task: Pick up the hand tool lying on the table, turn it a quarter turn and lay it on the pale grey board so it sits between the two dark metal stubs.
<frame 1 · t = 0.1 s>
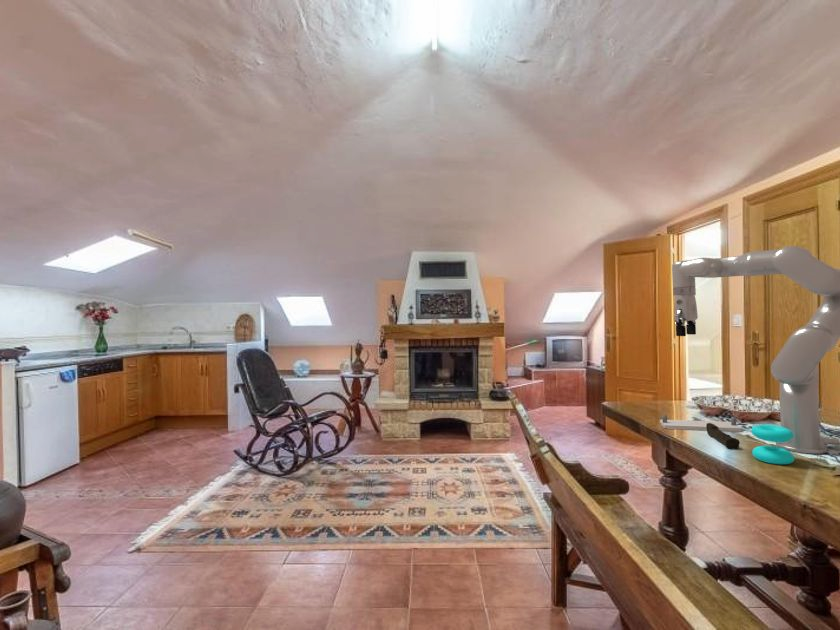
hand: (686, 335, 163), 37 cm above the table, tool pointing down, fingers open, 9 cm apart
donuts: (773, 460, 128), on the table
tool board: (698, 427, 164), on the table
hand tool: (718, 441, 148), on the table
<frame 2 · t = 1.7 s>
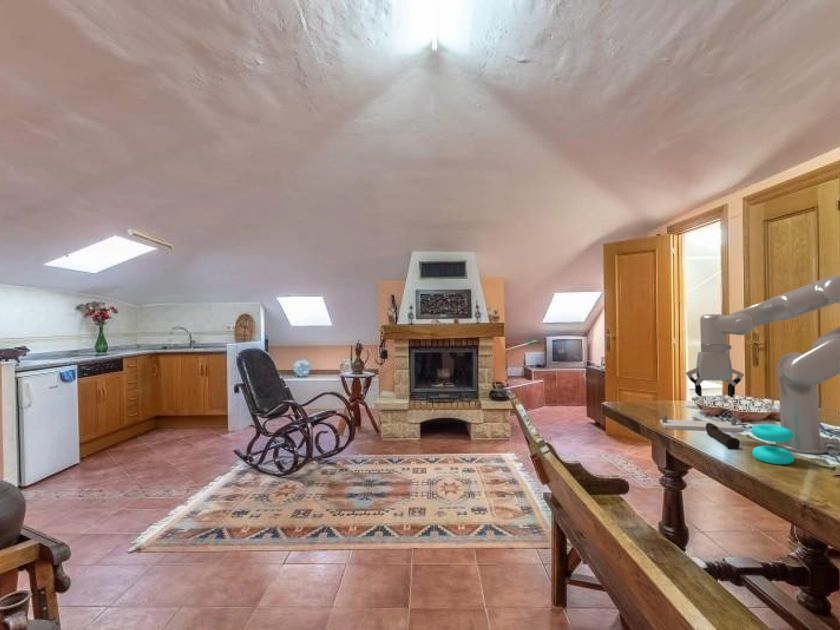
hand: (714, 396, 148), 16 cm above the table, tool pointing down, fingers open, 9 cm apart
nothing on the table moved.
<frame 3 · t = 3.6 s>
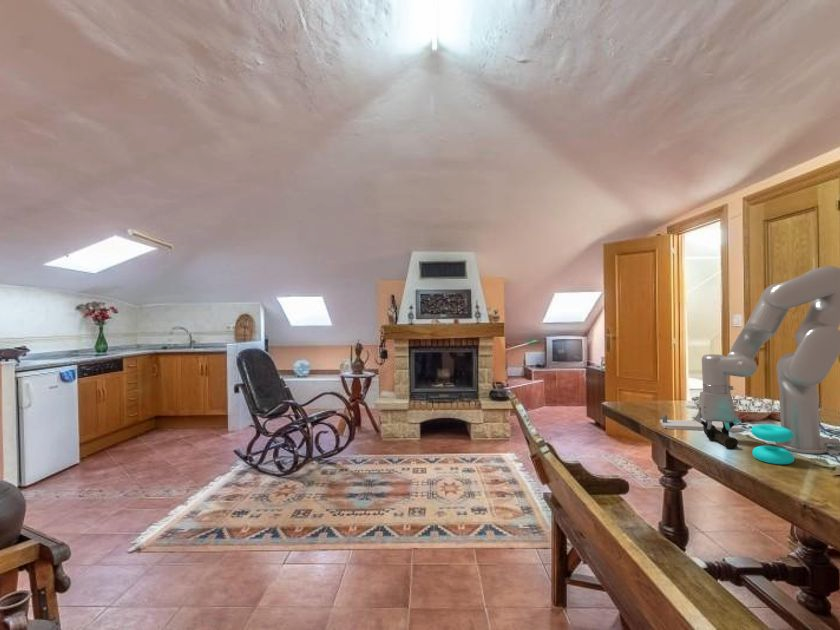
hand: (717, 439, 148), 0 cm above the table, tool pointing down, fingers closed on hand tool, 3 cm apart
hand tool: (716, 441, 148), on the table, touching gripper
everything else where it was.
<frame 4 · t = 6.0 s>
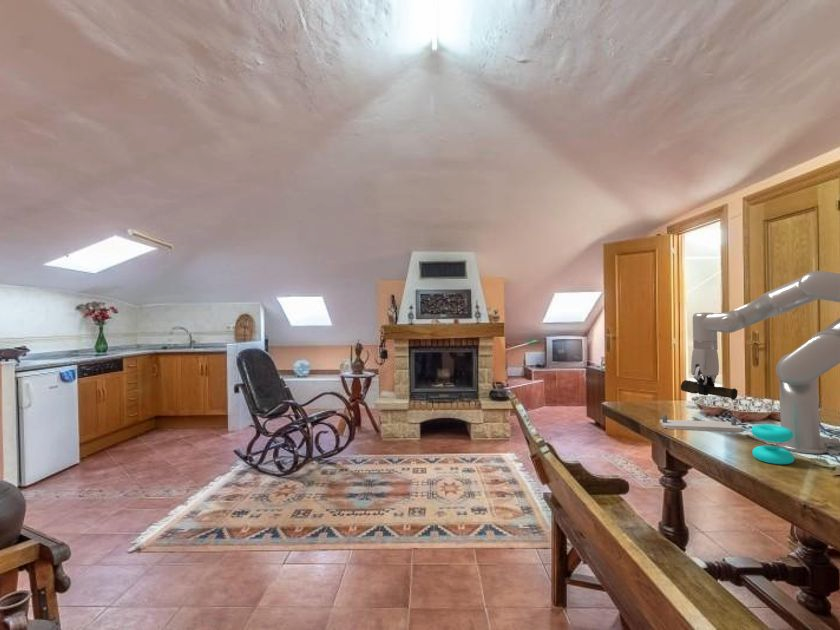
hand: (706, 393, 155), 15 cm above the table, tool pointing down, fingers closed on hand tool, 3 cm apart
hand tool: (706, 395, 154), point 15 cm above the table, touching gripper
everything else where it was.
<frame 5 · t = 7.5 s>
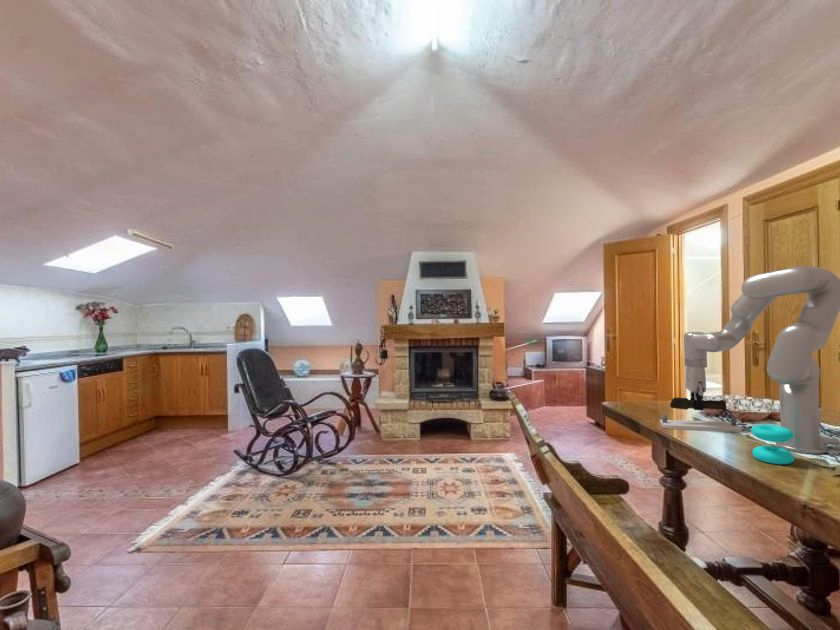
hand: (697, 408, 165), 8 cm above the table, tool pointing down, fingers closed on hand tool, 3 cm apart
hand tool: (698, 410, 164), point 7 cm above the table, touching gripper
everything else where it was.
when the fingers open (3 cm above the table, at t = 8.6 s): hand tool drops 1 cm, resting on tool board.
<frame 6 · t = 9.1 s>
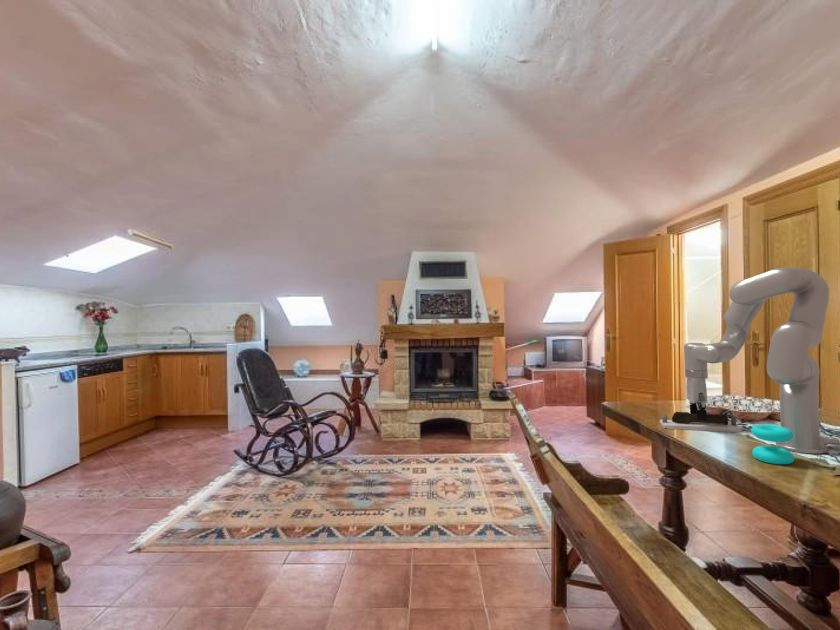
hand: (698, 417, 164), 4 cm above the table, tool pointing down, fingers open, 8 cm apart
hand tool: (700, 424, 164), point 1 cm above the table, touching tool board
everything else where it was.
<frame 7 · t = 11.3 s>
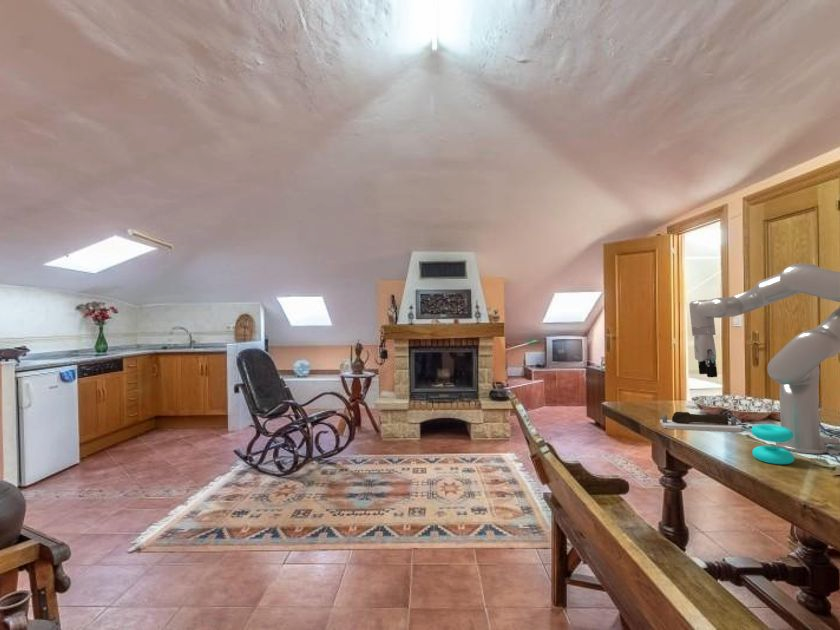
hand: (708, 375, 160), 21 cm above the table, tool pointing down, fingers open, 9 cm apart
nothing on the table moved.
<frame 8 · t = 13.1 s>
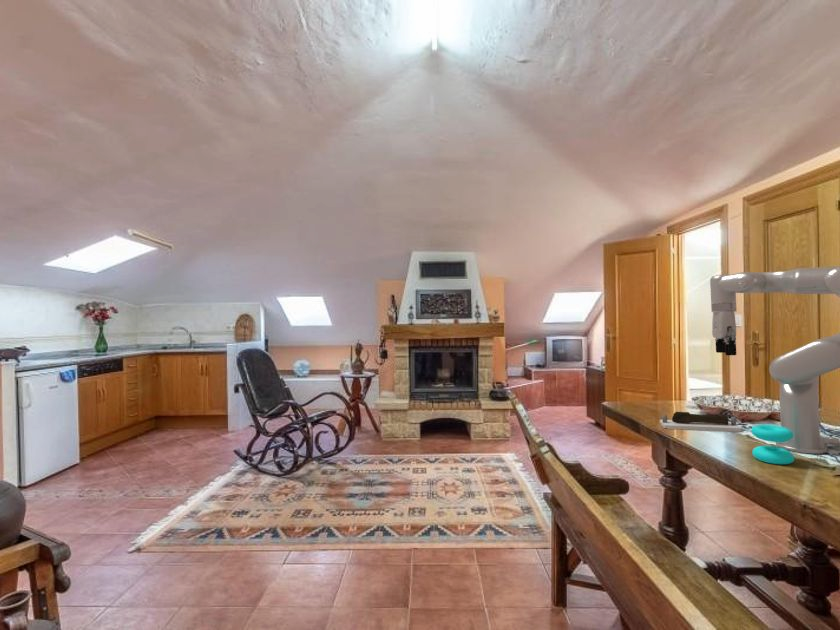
hand: (725, 353, 153), 30 cm above the table, tool pointing down, fingers open, 9 cm apart
nothing on the table moved.
at the end: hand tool inside the target area on the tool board (0.6 cm from its centre), point 1.3 cm above the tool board's base; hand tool touching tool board; the gripper is holding nothing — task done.
